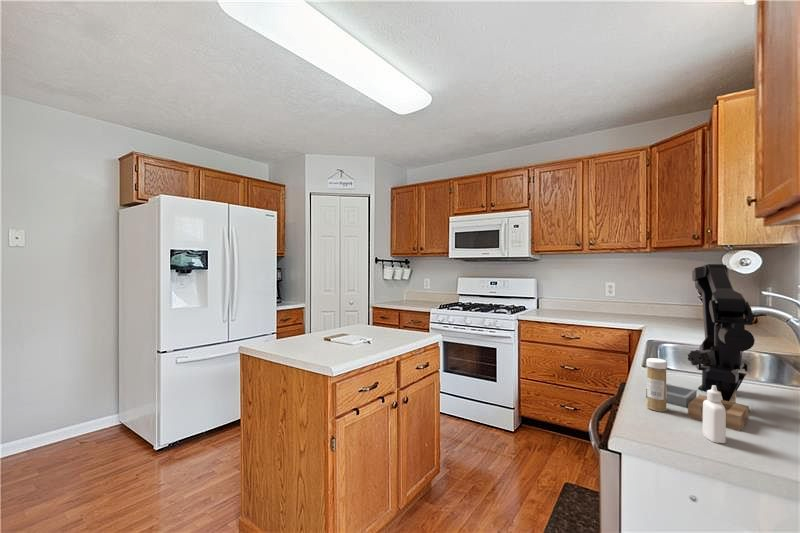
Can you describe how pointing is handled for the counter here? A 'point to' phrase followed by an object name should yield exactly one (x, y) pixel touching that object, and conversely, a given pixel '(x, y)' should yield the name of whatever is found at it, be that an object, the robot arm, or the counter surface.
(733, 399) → the beige wooden peg
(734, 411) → the brown square frame
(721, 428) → the eye dropper bottle
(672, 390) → the gray square tray
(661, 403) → the sprinkles bottle
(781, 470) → the counter surface
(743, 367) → the robot arm
